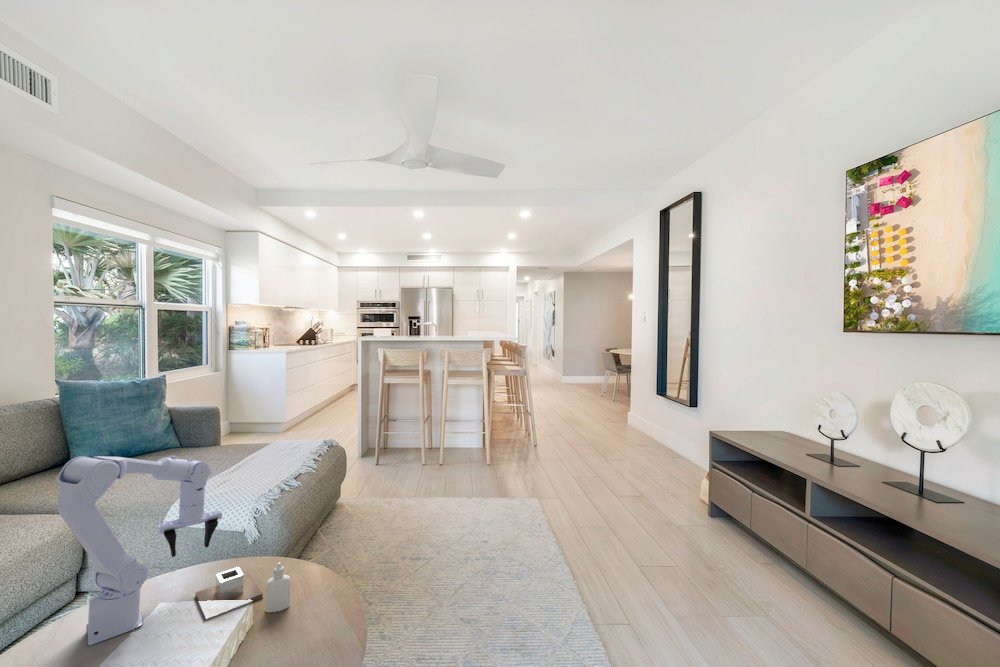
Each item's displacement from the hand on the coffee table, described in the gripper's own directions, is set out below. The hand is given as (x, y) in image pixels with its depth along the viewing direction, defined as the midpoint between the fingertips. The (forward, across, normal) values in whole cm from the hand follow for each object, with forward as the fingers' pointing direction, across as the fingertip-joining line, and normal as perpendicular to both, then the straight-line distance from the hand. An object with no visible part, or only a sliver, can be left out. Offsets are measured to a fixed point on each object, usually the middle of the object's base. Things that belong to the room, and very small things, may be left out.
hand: (190, 550), depth 118 cm
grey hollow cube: (+9, -7, +13) cm, 17 cm away
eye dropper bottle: (+11, -15, +27) cm, 33 cm away
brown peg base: (+10, -7, +13) cm, 18 cm away
